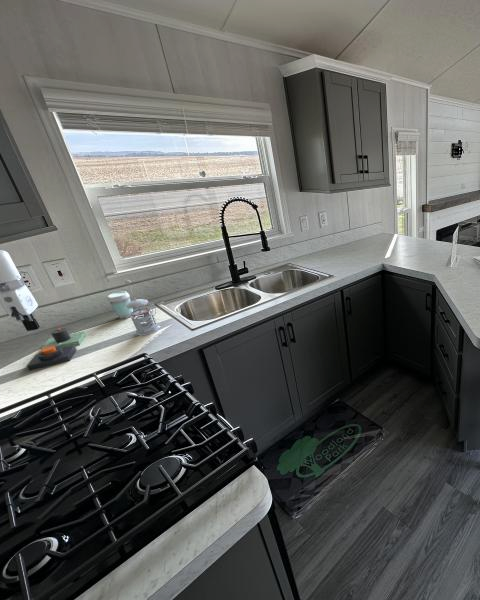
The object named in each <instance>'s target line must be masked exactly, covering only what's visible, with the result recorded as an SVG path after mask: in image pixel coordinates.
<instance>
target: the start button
mask: <svg viewBox="0 0 480 600" xmlns="http://www.w3.org/2000/svg"><path fill="white" fill-rule="evenodd" d="M55 351H57V350H56V348H55V346H49V347H46V348H44V349H42V350H41V349H40V352H41V353H42V354H43V355H47V354H51V353H53V352H55Z"/></svg>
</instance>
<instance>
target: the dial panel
mask: <svg viewBox="0 0 480 600" xmlns="http://www.w3.org/2000/svg"><path fill="white" fill-rule="evenodd" d="M69 335H70V337H71V338H70V339H69V340H67V341H64V342H59V343H57V342H56V341H55V340H54V338H53V337H50V338H48V339H47V340H46V342H45V343H44V344H43V345H42V347H41V348H40V351H41V350H42V349H44V348H46V347H49V346H55V347H61V348H67V347H71V346H75V347H77V346H81V344H82V342H83V341H84V339H85V338H86V336H87V333H86V331H85V330H84V331H77V332H73V333H69Z"/></svg>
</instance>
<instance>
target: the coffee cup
mask: <svg viewBox="0 0 480 600" xmlns="http://www.w3.org/2000/svg"><path fill="white" fill-rule="evenodd" d="M130 297H131V296H130V294H129V293H128V292H127V291H123V290H122V291H116V292H112V293H110V294H108V296H107V301H108V302H109V304H110V305H111V307H112V308H113V310H114V311H115V314H116V315H117V316H118V318H119V319H122V320H123V319H128V318H131V316H132V315H131V313H132V312H133V311H134V308H130V309H129V308H127V307H126V305H127V304H128V303H129V302H131V301H132V300H131V298H130Z"/></svg>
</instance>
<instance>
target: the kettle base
mask: <svg viewBox="0 0 480 600" xmlns="http://www.w3.org/2000/svg"><path fill="white" fill-rule="evenodd" d="M76 347H77V346H71V347H67V348H61V347H55V348H56V350H57V351H55V352H53V353H51V354H47V355H43V354H42V353H41V351H39V352H38V353H36V354H35V355H34V356H33V357H32V358H31V359H30V361H29V362H28V363H27V364H26V368H27V369H28V371H33V370H37V369H41V368H47V367H50V366H51V367H52V366H55V365H58V364H63V363H67V362H71V361H72V359H73V357H74V355H75V354H76V352H77V350H78V349H77V348H76Z"/></svg>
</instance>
